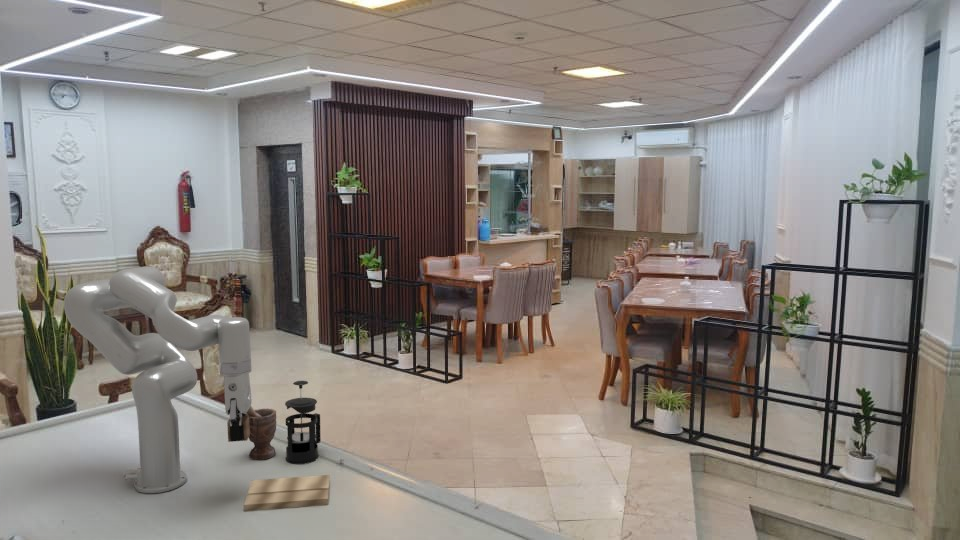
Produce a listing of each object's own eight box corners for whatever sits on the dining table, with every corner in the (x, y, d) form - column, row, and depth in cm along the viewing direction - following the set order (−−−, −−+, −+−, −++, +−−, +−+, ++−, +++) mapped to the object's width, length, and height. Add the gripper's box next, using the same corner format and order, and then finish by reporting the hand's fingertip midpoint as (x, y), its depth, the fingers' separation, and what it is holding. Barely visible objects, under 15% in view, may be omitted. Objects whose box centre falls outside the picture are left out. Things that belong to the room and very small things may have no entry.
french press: (298, 467, 188) (296, 388, 185) (276, 459, 193) (274, 383, 190) (329, 454, 197) (328, 379, 195) (308, 447, 203) (306, 374, 200)
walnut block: (228, 441, 166) (227, 422, 165) (231, 435, 170) (230, 416, 170) (247, 440, 167) (246, 421, 166) (250, 434, 171) (249, 415, 171)
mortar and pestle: (256, 467, 188) (254, 398, 185) (232, 462, 191) (230, 395, 189) (283, 452, 198) (281, 388, 196) (260, 448, 202) (258, 384, 199)
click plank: (247, 499, 168) (247, 493, 168) (251, 485, 174) (251, 480, 174) (328, 493, 172) (328, 488, 171) (329, 480, 178) (329, 474, 178)
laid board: (244, 511, 162) (243, 504, 162) (247, 500, 167) (247, 494, 167) (328, 504, 166) (327, 498, 165) (328, 494, 171) (328, 488, 171)
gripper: (245, 374, 159) (249, 448, 161) (256, 358, 176) (259, 425, 177) (212, 376, 158) (216, 450, 160) (226, 359, 174) (230, 427, 176)
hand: (239, 436), depth 169 cm, fingers closed on walnut block, 4 cm apart
